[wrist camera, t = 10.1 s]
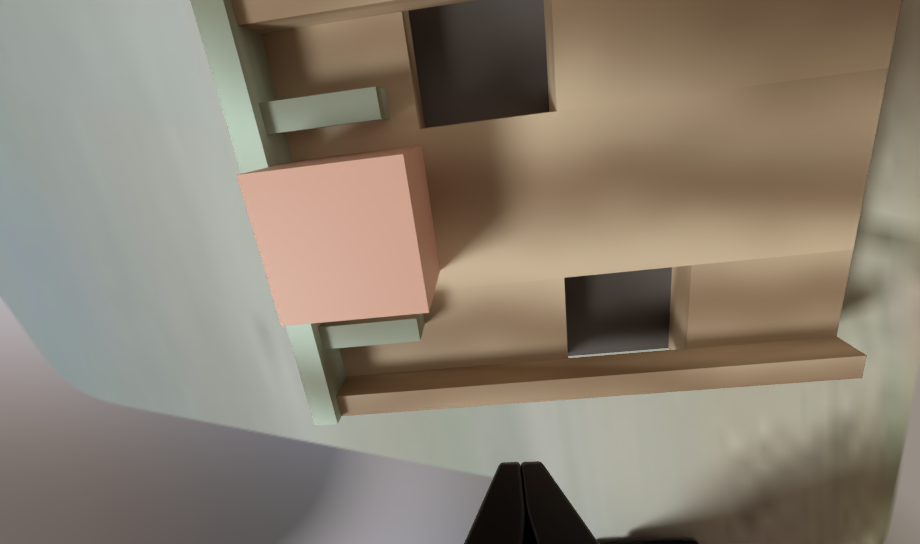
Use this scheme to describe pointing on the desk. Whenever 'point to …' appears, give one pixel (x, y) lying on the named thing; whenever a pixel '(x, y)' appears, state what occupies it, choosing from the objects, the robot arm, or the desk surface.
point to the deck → (579, 184)
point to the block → (345, 235)
